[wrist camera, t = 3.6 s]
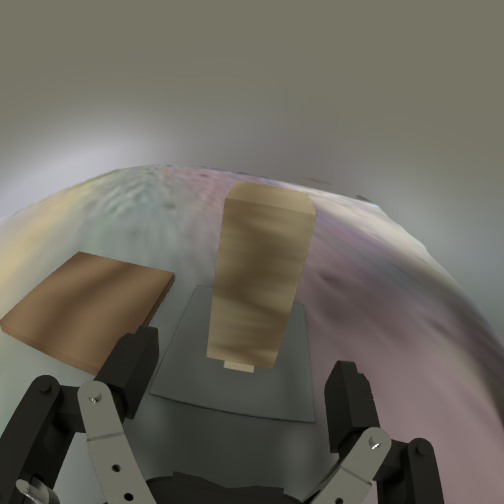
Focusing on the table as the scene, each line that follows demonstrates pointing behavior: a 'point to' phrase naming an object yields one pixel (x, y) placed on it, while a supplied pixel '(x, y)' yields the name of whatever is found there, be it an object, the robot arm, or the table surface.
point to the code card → (237, 370)
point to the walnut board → (87, 308)
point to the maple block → (257, 271)
